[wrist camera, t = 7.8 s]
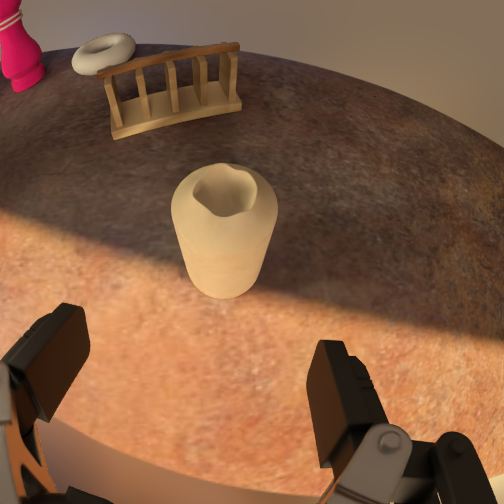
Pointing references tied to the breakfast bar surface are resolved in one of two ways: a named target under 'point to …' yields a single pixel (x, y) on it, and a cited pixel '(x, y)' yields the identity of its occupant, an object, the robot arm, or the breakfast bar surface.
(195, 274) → the candle
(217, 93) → the toast rack
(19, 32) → the pepper mill
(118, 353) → the breakfast bar surface
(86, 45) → the donut
